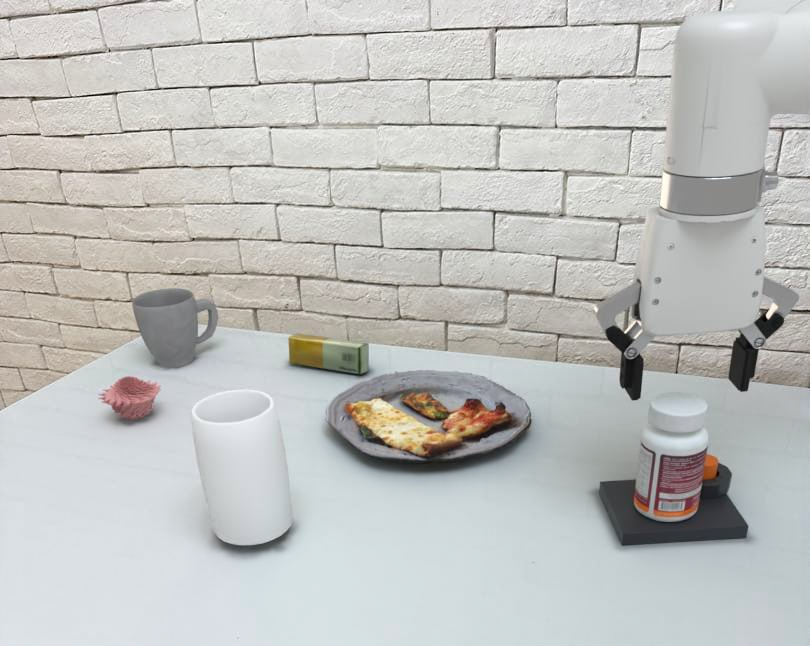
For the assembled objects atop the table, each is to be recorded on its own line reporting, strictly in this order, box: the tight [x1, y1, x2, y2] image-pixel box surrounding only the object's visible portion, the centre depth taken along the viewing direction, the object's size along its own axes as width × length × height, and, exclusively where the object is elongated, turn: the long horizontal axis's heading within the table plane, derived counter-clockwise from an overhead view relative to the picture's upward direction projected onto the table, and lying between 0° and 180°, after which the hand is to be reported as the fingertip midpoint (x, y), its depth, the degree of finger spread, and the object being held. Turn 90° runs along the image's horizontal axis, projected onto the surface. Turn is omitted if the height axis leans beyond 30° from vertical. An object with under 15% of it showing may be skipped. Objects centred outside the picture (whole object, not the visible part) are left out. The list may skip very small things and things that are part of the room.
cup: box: [190, 389, 293, 546], centre depth 83 cm, size 8×8×14 cm
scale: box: [598, 462, 749, 546], centre depth 86 cm, size 13×11×3 cm
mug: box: [131, 287, 219, 369], centre depth 126 cm, size 12×9×10 cm
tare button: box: [703, 453, 719, 480], centre depth 87 cm, size 3×3×2 cm
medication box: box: [287, 332, 370, 376], centre depth 121 cm, size 12×3×4 cm, turn 65°
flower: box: [98, 375, 162, 421], centre depth 110 cm, size 8×8×6 cm
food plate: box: [324, 369, 532, 464], centre depth 104 cm, size 25×23×4 cm
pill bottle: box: [634, 391, 710, 522], centre depth 81 cm, size 6×6×11 cm
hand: (684, 389), depth 78 cm, fingers open, 9 cm apart
